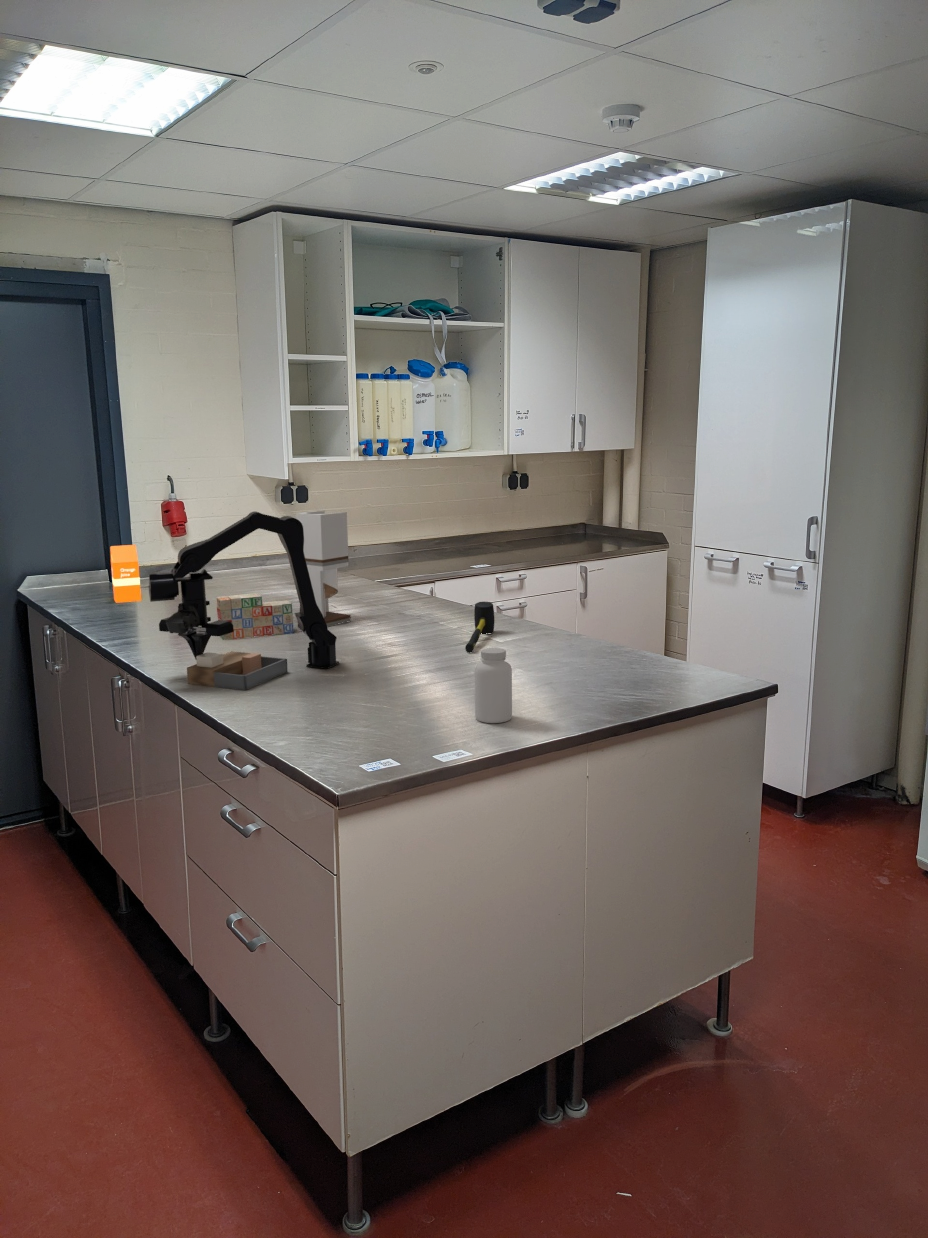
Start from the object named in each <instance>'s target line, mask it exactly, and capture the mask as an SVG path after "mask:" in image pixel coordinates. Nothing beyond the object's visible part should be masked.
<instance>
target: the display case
mask: <svg viewBox="0 0 928 1238" xmlns="http://www.w3.org/2000/svg"><path fill="white" fill-rule="evenodd" d="M295 515H296V519H297V520H299V521H300V522H301V523H302V525H303V531H304V549H303V550H304V556H305V560H306V564H307V568H308V572H309V576H310V580H311V584H312V588H313V592H314V596H315V600H316V604H317V606H318V607H319V609H320V611H321V613H322V615H323V617H324V619H325V622H326V624H327V626H329V627H332V626H331V625H333V626H336V625H335V624H337V625H339V624H338V623H341V624H343V623H342V622H346V623H348V622H347V621H350V622H351V621H352V620H351V615H350V614H346V613H342V612H341V613H340V612H335V611H334V612H333V611H330V610H329V608H330V606H329V598H332V597H333V596H335V595H337V594H338V593H339V583H338V582H339V581H338V580H339V579H338V569H342V568H347V567H349V565H350V564H349V563H350V562H349V541H348V540H349V536H348V535H349V534H348V512H347V511H340V512H332V513H331V512H330V513H326V511H325V510H315V511H314V510H313V511H305V512H296V514H295Z"/></svg>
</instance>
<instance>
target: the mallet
mask: <svg viewBox="0 0 928 1238" xmlns="http://www.w3.org/2000/svg"><path fill="white" fill-rule="evenodd" d="M494 609H495V608H494V604H493V602H491V601H478V602H476V603H475V604H474V613H473V616H474V631H473V633H472V635H471V636H470V638H469V641H468V642H467V643H466V645H465V647H464V649H465V652H466V653H468V652H472V653H473V652H474V650H475V646H476V645H477V643H478V641H479V639H480V637H481V633H482V634H486V633H492V634H493V633H494V631H495V610H494Z"/></svg>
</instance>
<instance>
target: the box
mask: <svg viewBox="0 0 928 1238" xmlns="http://www.w3.org/2000/svg"><path fill="white" fill-rule="evenodd" d="M261 666H262V668H261V669H258V670H256V671H253V672H251V673H249V674H246V675H244V674H243V673H242V674H240V675H237V674H228V673H219V672H214V685H215V687H216V688H221V689H222V688H223V689H224V688H225V689H233V690H238V691H239V690H241V691H247V690H250V689H252V688H254V687H256V686H259V685H261V684H264V683H266V682H268V681H270V680H273V679H274V678H277V677H281V676H282V675H284V674H287V673H289V672H288V670H289V669H288V658H282V657H275V656H274V657H273V656H264V655H263V656H262V655H261ZM215 687H214V688H215Z"/></svg>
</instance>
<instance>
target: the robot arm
mask: <svg viewBox="0 0 928 1238" xmlns="http://www.w3.org/2000/svg"><path fill="white" fill-rule="evenodd" d="M257 530H264V531H267V532H270V533H275V534H276V535H277V536H278V539H279V541H280V542H281V545H282V546H283V549H284V550H285V552H286V554H287V559H288V561H289V566H290V570H291V574H292V578H293V583H294V585H295V591H296V594H297V597H298V602H299V612H298V611H297V612H294V616H295V618H296V620H297V628H298V629H300V630H301V632H302V633H303V634H305V636H307V637H308V639H309V640H310V641H309V642H308V647H307V662H308V663H307V664H306V667H307V668H315V669H316V668H317V669H330V668H332V667H334V666H337V665H338V664H340V661H338V660H337V652H336V651H337V650H336V648H337V647H336V642H337V636H336V635H335V634H333V633H332V632H331V631H330V630H329V629H328V628H329V627H327V624H326V622H325V619H324V617H323V615H322V613H321V611H320V609H319V607H318V606H317V604H316V600H315V596H314V592H313V588H312V584H311V580H310V576H309V572H308V568H307V564H306V560H305V556H304V550H303V549H304V531H303V525H302V523H301V522H300V521H299V520H297V518H295V517H293V516H289V515H283V516H281V517H277V516H274V515H269V514H264V513H261V512H258V511H251V512H250V513H248V514H247V515H246V516H245V517H243V518H241V519H239V520H237V521H236V522H235V523H232V524H231V525H229V526H227V527H226V528H224V529H223V530H221V531H220V532H217V533H215V534H214V535H213V536H211V537H209V538H207V539H204V540H201V541H198V542H194V543H192V544H189V545H187V546H184V547H182V548H181V549H180V550H179V551H178V554H177V562H176V563H175V565H174V566H173V567H172V569H171V571H170V572H161V573H155V572H150V573H148V587H147V588H148V596H149V601H150V602H151V603H152V602H165V601H174V600H175V598H176V597H178V596H181V603H178V606H177V611H176V612H174V613H173V614H172V615H171V616H170V617H169V616H168V617H165V618H162V619H161V620H160V621H159V623H158V630H159V632H167V633H168V632H169V633H170V634H177V636H178V637H181V638H183V639H184V640H185V641H186V642H187V644H188V646H189V649H190V650H191V652H192V655H193V657H194V659H195V660H196V656H198V655H201V654H204V653H205V651H206V648H207V645H208V643H209V642H210V641H209V640H210V639H211V637H220V636H222V635H225V634H228V633H231V632H234V629H233V624H232V622H231V621H225V620H218V619H217V620H215V621H212V620H211V619H212V618H211V616H208V611H207V610H208V609H207V606H210V604H211V603H210V600H207V597H206V595H207V594H206V582H205V581H207V580H213V578H214V577H213V576H212V575H211V574H210V573H209V572H208V571H207V570H206V568H204V567H205V566H207V564H208V563H210V561H212V559H214V557H215V556H216V555H217V554H219V553H220V552H222V551H224V550H225V549H226V548H228V547H230V546H232V545H234V544H235V543H236V542H238V541H240V540H242V539H243V538H245V537H246V536H249V535H250V534H252V533H253V532H255V531H257ZM200 570H201V571H200ZM198 571H200V572H198ZM187 575H188V576H187ZM179 583H180V589H179ZM179 590H180V591H179ZM179 594H180V595H179ZM211 621H212V622H211Z"/></svg>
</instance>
